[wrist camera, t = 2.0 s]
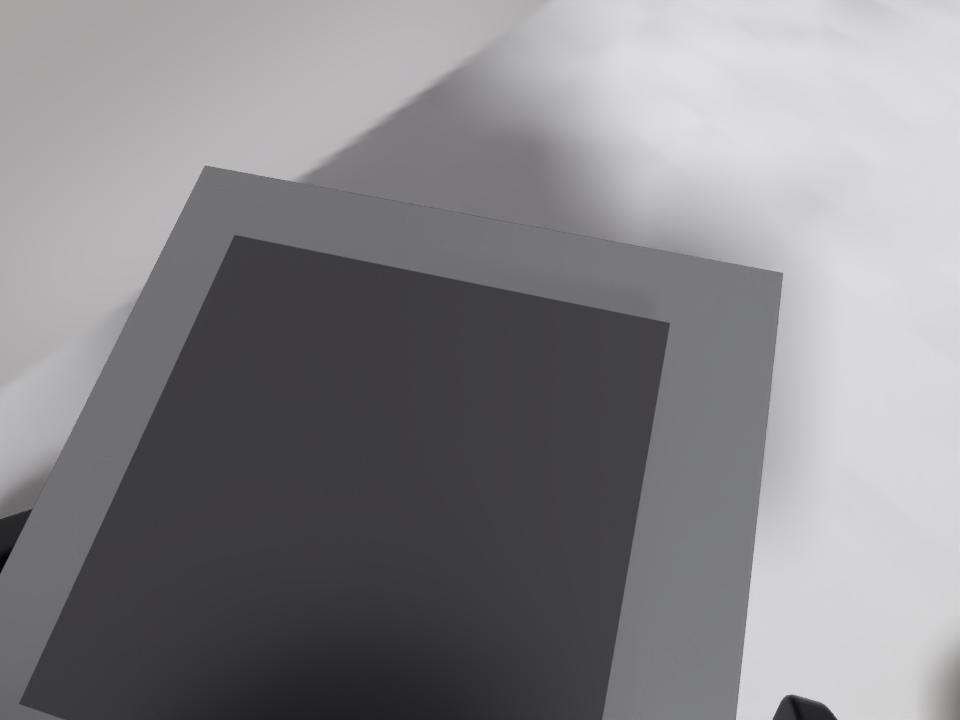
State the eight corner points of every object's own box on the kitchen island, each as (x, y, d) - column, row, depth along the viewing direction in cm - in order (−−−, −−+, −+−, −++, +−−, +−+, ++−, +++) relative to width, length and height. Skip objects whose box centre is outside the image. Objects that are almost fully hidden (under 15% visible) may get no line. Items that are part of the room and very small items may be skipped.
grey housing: (568, 749, 15) (717, 1171, 4) (328, 676, 16) (-180, 820, 4) (615, 498, 17) (805, 244, 6) (400, 445, 18) (182, 132, 6)
